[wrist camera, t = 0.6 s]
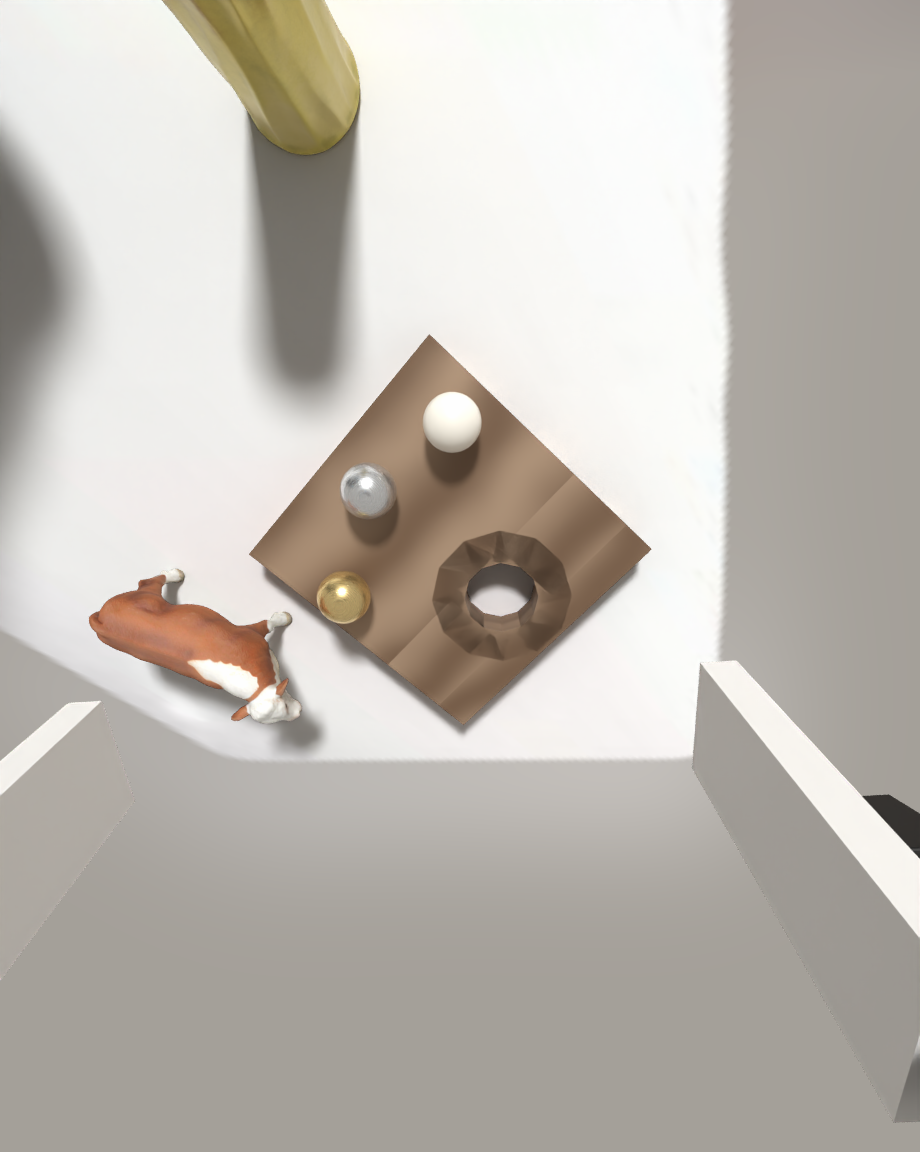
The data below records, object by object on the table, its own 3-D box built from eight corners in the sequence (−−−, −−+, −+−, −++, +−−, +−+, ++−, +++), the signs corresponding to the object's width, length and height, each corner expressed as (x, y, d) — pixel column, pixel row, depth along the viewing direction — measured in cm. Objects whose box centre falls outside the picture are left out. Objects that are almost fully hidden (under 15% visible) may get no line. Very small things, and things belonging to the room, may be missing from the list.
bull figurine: (316, 684, 42) (279, 754, 34) (138, 600, 40) (57, 653, 32) (341, 635, 40) (309, 696, 33) (158, 546, 38) (79, 589, 31)
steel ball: (335, 487, 34) (321, 498, 31) (369, 447, 34) (358, 454, 30) (376, 523, 35) (367, 537, 32) (410, 484, 34) (404, 494, 31)
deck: (262, 543, 38) (249, 554, 36) (432, 337, 34) (429, 334, 31) (464, 705, 42) (463, 725, 39) (640, 538, 37) (651, 549, 35)
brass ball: (313, 589, 36) (299, 608, 33) (345, 553, 36) (333, 569, 33) (353, 621, 37) (342, 642, 34) (385, 586, 36) (376, 605, 33)
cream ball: (413, 422, 33) (407, 427, 30) (451, 378, 32) (448, 378, 29) (455, 460, 34) (453, 468, 31) (492, 418, 33) (494, 422, 30)
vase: (240, 8, 29) (37, -311, 16) (362, 18, 29) (264, -294, 16) (246, 151, 31) (70, -22, 18) (359, 160, 31) (271, -6, 18)
